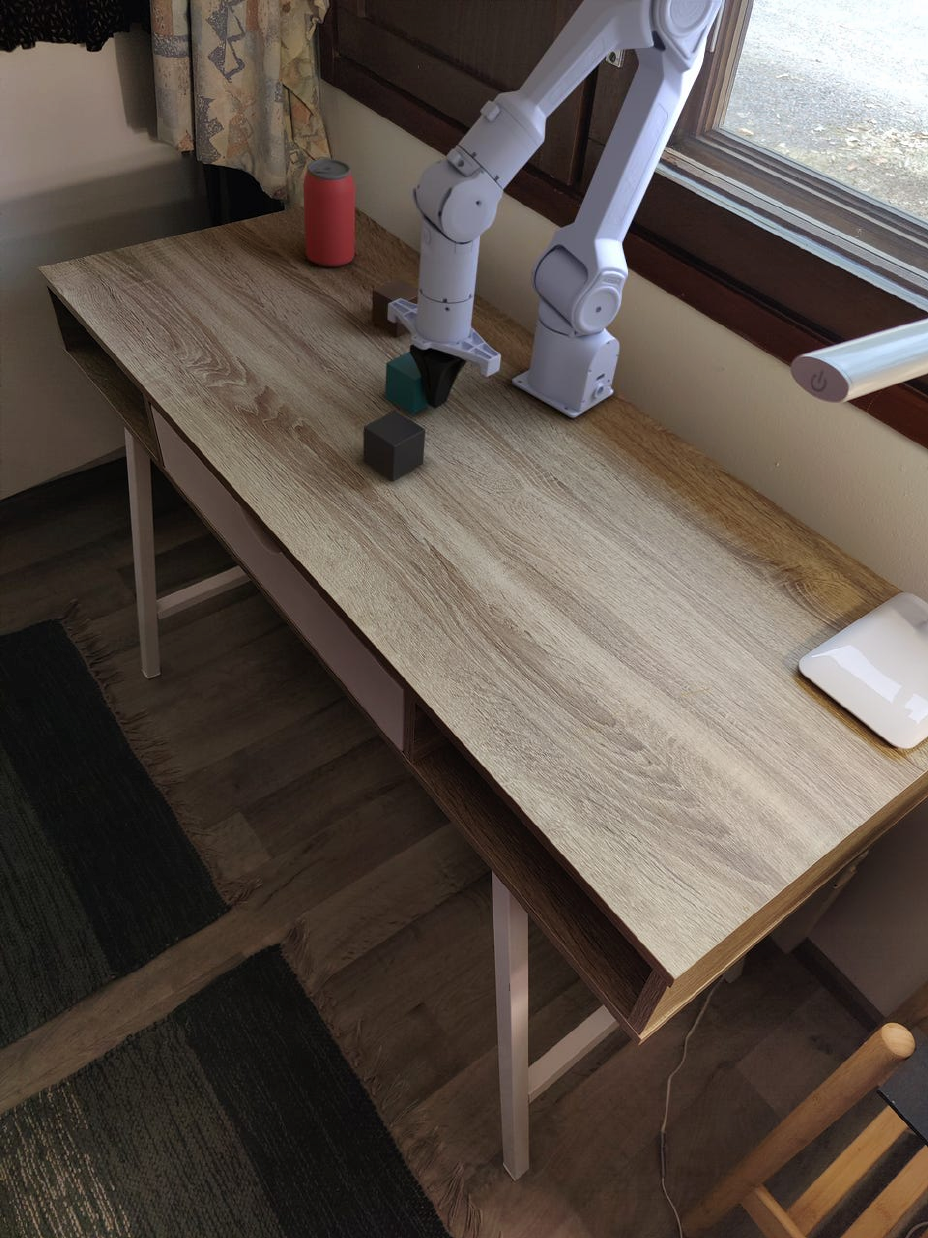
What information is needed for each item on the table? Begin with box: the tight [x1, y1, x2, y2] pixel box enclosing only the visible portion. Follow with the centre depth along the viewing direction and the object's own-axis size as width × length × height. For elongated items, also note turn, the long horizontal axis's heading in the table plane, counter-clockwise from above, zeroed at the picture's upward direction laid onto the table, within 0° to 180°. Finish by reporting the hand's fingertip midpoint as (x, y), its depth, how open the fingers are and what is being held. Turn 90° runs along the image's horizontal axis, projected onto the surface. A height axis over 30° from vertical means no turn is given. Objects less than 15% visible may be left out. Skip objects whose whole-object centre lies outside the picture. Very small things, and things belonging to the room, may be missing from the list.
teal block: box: [384, 351, 431, 415], centre depth 107 cm, size 4×4×4 cm
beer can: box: [302, 158, 356, 268], centre depth 126 cm, size 7×7×12 cm
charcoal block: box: [362, 409, 426, 483], centre depth 99 cm, size 4×4×4 cm
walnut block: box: [371, 278, 418, 338], centre depth 118 cm, size 4×4×4 cm
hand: (437, 402), depth 107 cm, fingers closed
